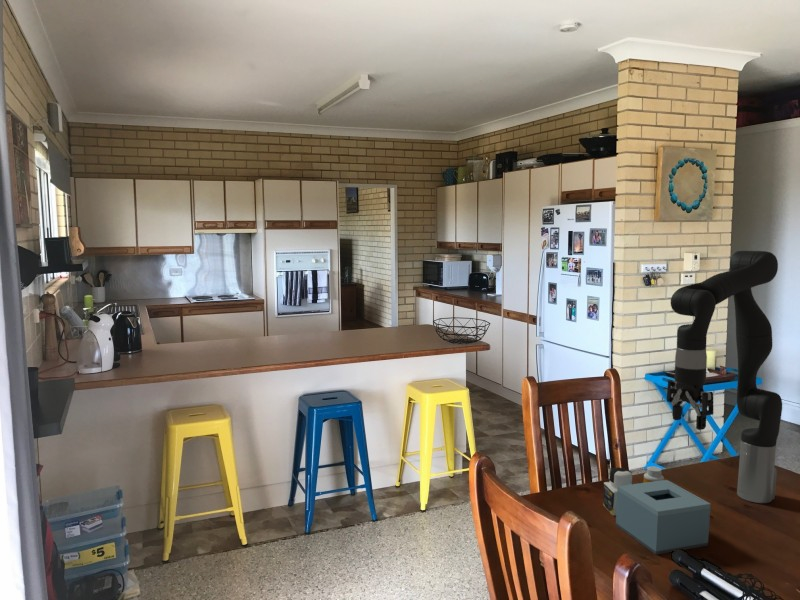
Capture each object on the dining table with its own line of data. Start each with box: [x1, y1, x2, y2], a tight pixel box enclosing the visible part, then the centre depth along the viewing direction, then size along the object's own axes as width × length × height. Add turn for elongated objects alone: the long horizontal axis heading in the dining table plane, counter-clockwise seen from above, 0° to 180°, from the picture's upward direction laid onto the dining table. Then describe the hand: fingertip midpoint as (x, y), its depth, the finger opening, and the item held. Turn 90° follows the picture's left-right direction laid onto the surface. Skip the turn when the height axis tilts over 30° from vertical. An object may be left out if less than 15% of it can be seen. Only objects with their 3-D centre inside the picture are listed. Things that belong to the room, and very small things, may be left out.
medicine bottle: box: [602, 467, 633, 517], centre depth 181 cm, size 7×7×12 cm
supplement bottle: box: [642, 466, 665, 483], centre depth 186 cm, size 6×6×10 cm
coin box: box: [615, 479, 712, 555], centre depth 166 cm, size 16×16×11 cm
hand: (688, 424), depth 167 cm, fingers open, 8 cm apart
